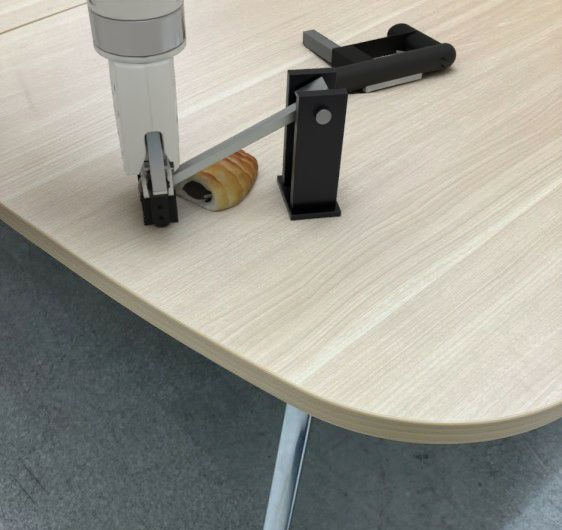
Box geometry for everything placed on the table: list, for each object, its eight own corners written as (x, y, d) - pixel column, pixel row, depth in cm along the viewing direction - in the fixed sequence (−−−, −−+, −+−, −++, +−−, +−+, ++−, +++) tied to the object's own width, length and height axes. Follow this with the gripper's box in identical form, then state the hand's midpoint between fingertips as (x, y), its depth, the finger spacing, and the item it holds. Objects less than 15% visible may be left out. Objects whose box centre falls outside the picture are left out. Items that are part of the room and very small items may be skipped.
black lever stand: (290, 226, 76) (298, 102, 67) (276, 185, 81) (281, 64, 71) (340, 221, 77) (355, 99, 68) (323, 181, 82) (334, 61, 72)
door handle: (263, 33, 99) (332, 81, 89) (392, 7, 107) (468, 48, 97) (263, 59, 102) (330, 109, 92) (389, 32, 109) (464, 75, 99)
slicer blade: (150, 215, 74) (132, 192, 72) (147, 197, 76) (130, 174, 74) (340, 114, 71) (327, 87, 68) (331, 98, 73) (319, 71, 70)
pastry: (220, 157, 84) (220, 124, 81) (274, 177, 82) (276, 145, 79) (168, 199, 78) (166, 166, 75) (225, 222, 76) (225, 189, 73)
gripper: (86, -12, 68) (114, 174, 81) (96, 76, 57) (127, 273, 70) (172, -17, 69) (187, 166, 82) (199, 68, 58) (210, 263, 72)
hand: (159, 214), depth 76 cm, fingers closed on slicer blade, 3 cm apart
